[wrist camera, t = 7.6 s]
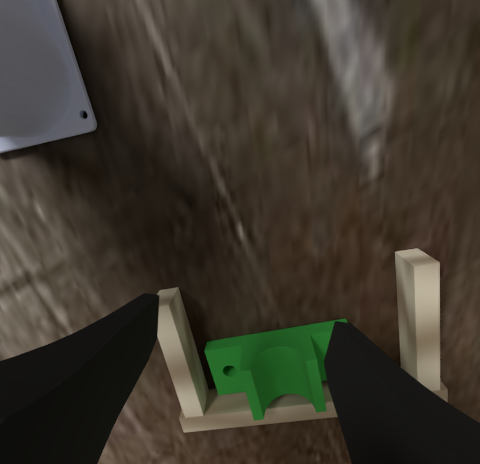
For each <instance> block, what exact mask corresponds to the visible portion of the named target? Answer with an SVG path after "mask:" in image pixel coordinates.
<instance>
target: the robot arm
mask: <svg viewBox="0 0 480 464" xmlns="http://www.w3.org/2000/svg"><path fill="white" fill-rule="evenodd" d="M85 111H86V112H87V115H88V117H87V118H86V119H85V118H84V117H83V113H84V112H85ZM96 128H97V122H96V119H95V116H94V112H93V109H92V106H91V103H90V100H89V97H88V94H87V91H86V88H85V85H84V82H83V79H82V76H81V73H80V70H79V67H78V64H77V61H76V58H75V54H74V51H73V48H72V45H71V42H70V39H69V36H68V33H67V30H66V27H65V24H64V21H63V18H62V15H61V12H60V9H59V6H58V3H57V0H0V153H4V152H8V151H12V150H16V149H21V148H25V147H29V146H33V145H38V144H42V143H46V142H50V141H55V140H59V139H63V138H67V137H72V136H76V135H80V134H84V133H89V132H92V131H94V130H95V129H96ZM159 296H160V295H154V294H147V293H144V294H142V295H141V296H139V297H137V298H136V299H134V300H132V301H131V302H129V303H127V304H126V305H124V306H123V307H121V308H119V309H118V310H116V311H114V312H112V313H111V314H109V315H107V316H106V317H104V318H102V319H100V320H98V321H96V322H94V323H93V324H91V325H89V326H87V327H85V328H83V329H81V330H79V331H77V332H75V333H73V334H71V335H69V336H66V337H64V338H62V339H60V340H57V341H55V342H53V343H50V344H48V345H45V346H42V347H40V348H37V349H34V350H31V351H29V352H26V353H23V354H21V355H18V356H15V357H12V358H9V359H6V360H3V361H0V464H97V463H98V461H99V458H100V456H101V454H102V451H103V449H104V447H105V444H106V442H107V440H108V437H109V435H110V433H111V430H112V428H113V426H114V424H115V422H116V420H117V418H118V416H119V414H120V412H121V410H122V408H123V406H124V405H125V403H126V401H127V399H128V397H129V395H130V393H131V392H132V390H133V388H134V386H135V384H136V382H137V381H138V379H139V377H140V375H141V373H142V371H143V369H144V368H145V366H146V364H147V362H148V360H149V357H150V355H151V352H152V350H153V347H154V345H155V342H156V339H157V333H158V315H159ZM324 367H325V373H326V378H327V383H328V388H329V391H330V394H331V397H332V401H333V404H334V407H335V410H336V413H337V416H338V420H339V423H340V426H341V429H342V432H343V435H344V438H345V441H346V444H347V448H348V451H349V455H350V458H351V462H352V464H480V423H478V422H477V421H475V420H473V419H472V418H470V417H469V416H467V415H466V414H464V413H462V412H461V411H459V410H458V409H456V408H455V407H453V406H452V405H450V404H449V403H447V402H446V401H445V400H443V399H442V398H440V397H439V396H438V395H436V394H435V393H433V392H432V391H431V390H429V389H428V388H426V387H425V386H424V385H422V384H421V383H420V382H419V381H417V380H416V379H415V378H414V377H412V376H411V375H410V374H409V373H407V372H406V371H405V370H404V369H402V368H401V367H400V366H399V365H398V364H396V363H395V362H394V361H393V360H392V359H391V358H389V357H388V356H387V355H386V354H385V353H384V352H383V351H381V350H380V349H379V348H378V347H377V346H376V345H375V344H374V343H373V342H371V341H370V340H369V339H368V338H367V337H366V336H365V335H364V334H363V333H361V332H360V331H359V330H358V329H357V328H356V327H354V326H353V325H352V324H351V323H346V322H339V321H335V323H334V326H333V330H332V334H331V337H330V341H329V344H328V348H327V352H326V355H325V359H324Z"/></svg>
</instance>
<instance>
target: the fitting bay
mask: <svg viewBox="0 0 480 464" xmlns="http://www.w3.org/2000/svg"><path fill="white" fill-rule="evenodd" d="M395 262H396V281H397V301H398V320H399V339H400V358H401V366H400V367H401V368H402V369H404V370H405V371H406V372H407V373H409V374H410V375H411V376H412V377H414V378H415V379H416V380H417V381H419V382H420V383H421V384H422V385H424V386H425V387H426V388H428V389H429V390H431V391H432V392H433V393H435V394H436V395H438V396H439V397H440V398H442V399H443V400H445V401H446V402H448V389H447V388H446V387H445V385H444V384H443V383H442V382H441V380H440V262H438V261H436V260H435V259H433V258H432V257H430V256H429V255H427V254H425V253H424V252H422V251H421V250H419V249H418V248H416V249H410V250H404V251H398V252H395ZM157 295H160V296H159V315H158V333H157V336H158V339H159V342H160V345H161V348H162V351H163V354H164V357H165V360H166V363H167V366H168V369H169V372H170V375H171V378H172V381H173V384H174V386H175V389H176V392H177V395H178V398H179V401H180V404H181V407H182V410H181V413H180V417H179V420H180V423H181V426H182V428H183V431H184V432H194V431H204V430H213V429H223V428H233V427H243V426H252V425H262V424H272V423H282V422H291V421H301V420H311V419H321V418H330V417H338V416H337V413H336V410H335V407H334V404H333V401H332V397H331V394H330V391H329V388H328V383H327V380H325V381H321V383H322V389H323V394H324V399H325V404H326V409H327V411H325V412H317V413H316V410H315V408H314V406H313V404H312V403H311V402H310V401H309V400H308V399H307V398H305V397H303V396H301V395H298V394H284V395H281V396H279V397H277V398H275V399H274V400H273V401H272V402H271V403H270V404H269V405H268V407H267V409H266V411H265V415H264V419H263V420H255V421H254V419H253V415H252V412H251V409H250V405H249V402H248V398H247V395H246V392H240V393H233V394H226V395H219V394H218V391H217V388H215V389H208V385H207V382H206V379H205V375H204V372H203V369H202V365H201V362H200V359H199V355H198V352H197V348H196V345H195V342H194V338H193V335H192V332H191V328H190V325H189V321H188V318H187V315H186V311H185V308H184V305H183V301H182V298H181V295H180V291H179V288H178V287H176V288H170V289H164V290H160V291H159V292H158V294H157Z"/></svg>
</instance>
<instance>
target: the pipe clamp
mask: <svg viewBox="0 0 480 464" xmlns="http://www.w3.org/2000/svg"><path fill="white" fill-rule="evenodd" d="M335 321H339V322H346V323H348V322H347V320H346V319H340V320H334V321H328V322H322V323H316V324H310V325H304V326H298V327H292V328H286V329H280V330H274V331H268V332H262V333H256V334H250V335H244V336H238V337H232V338H225V339H219V340H213V341H207V343H206V347H205V351H204V352H205V355H206V358H207V361H208V364H209V367H210V370H211V373H212V376H213V379H214V382H215V385H216V388H217V391H218V394H219V395H226V394H233V393H240V392H246V395H247V398H248V402H249V405H250V409H251V412H252V415H253V419H254V421H255V420H263V419H264V415H265V411H266V409H267V407H268V405H269V404H270V403H271V402H272V401H273V400H274V399H275V398H277V397H279V396H281V395H284V394H298V395H301V396H303V397H305V398H307V399H308V400H309V401H310V402H311V403H312V404H313V406H314V408H315V410H316V413H317V412H325V411H327V409H326V404H325V399H324V394H323V389H322V383H321V381H325V380H327V378H326V373H325V367H324V359H325V355H326V352H327V348H328V344H329V341H330V337H331V334H332V330H333V326H334V323H335Z"/></svg>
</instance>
